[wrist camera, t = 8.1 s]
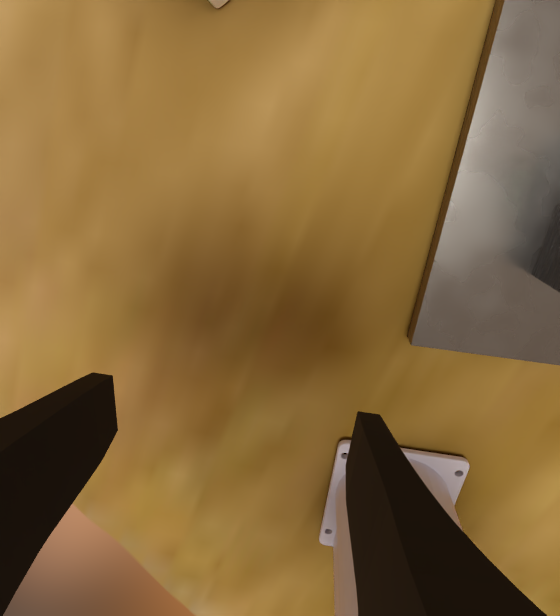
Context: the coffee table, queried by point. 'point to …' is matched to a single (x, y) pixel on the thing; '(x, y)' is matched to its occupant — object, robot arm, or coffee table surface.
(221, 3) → the syrup box
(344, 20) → the coffee table surface
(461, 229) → the metal plate with socket
